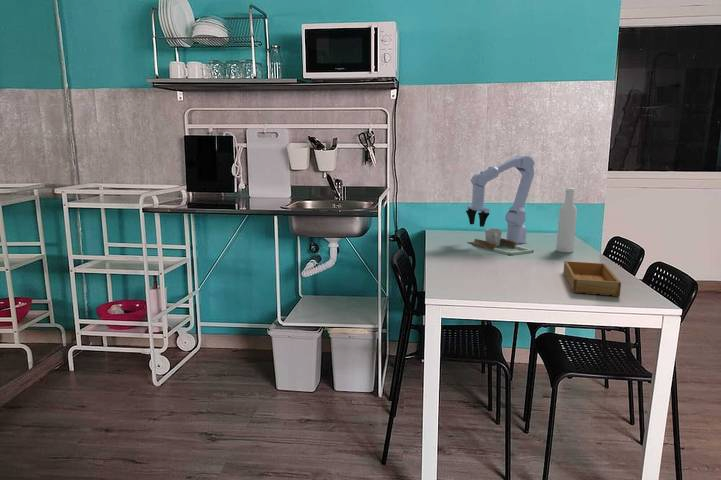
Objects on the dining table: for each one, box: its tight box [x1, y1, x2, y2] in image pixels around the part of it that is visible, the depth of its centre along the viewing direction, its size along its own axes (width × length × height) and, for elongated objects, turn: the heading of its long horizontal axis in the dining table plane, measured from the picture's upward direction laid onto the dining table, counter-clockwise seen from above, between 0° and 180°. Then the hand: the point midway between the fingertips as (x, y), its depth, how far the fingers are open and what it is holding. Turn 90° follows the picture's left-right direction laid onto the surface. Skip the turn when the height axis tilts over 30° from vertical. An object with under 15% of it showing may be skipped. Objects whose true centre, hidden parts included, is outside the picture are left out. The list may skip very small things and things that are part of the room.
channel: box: [473, 237, 517, 251], centre depth 264 cm, size 14×14×3 cm
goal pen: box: [493, 245, 534, 256], centre depth 253 cm, size 14×11×1 cm
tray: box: [563, 260, 622, 297], centre depth 198 cm, size 31×15×6 cm, turn 165°
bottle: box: [555, 187, 578, 254], centre depth 253 cm, size 8×8×30 cm
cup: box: [485, 227, 503, 247], centre depth 265 cm, size 11×8×8 cm
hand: (476, 225), depth 268 cm, fingers open, 7 cm apart
